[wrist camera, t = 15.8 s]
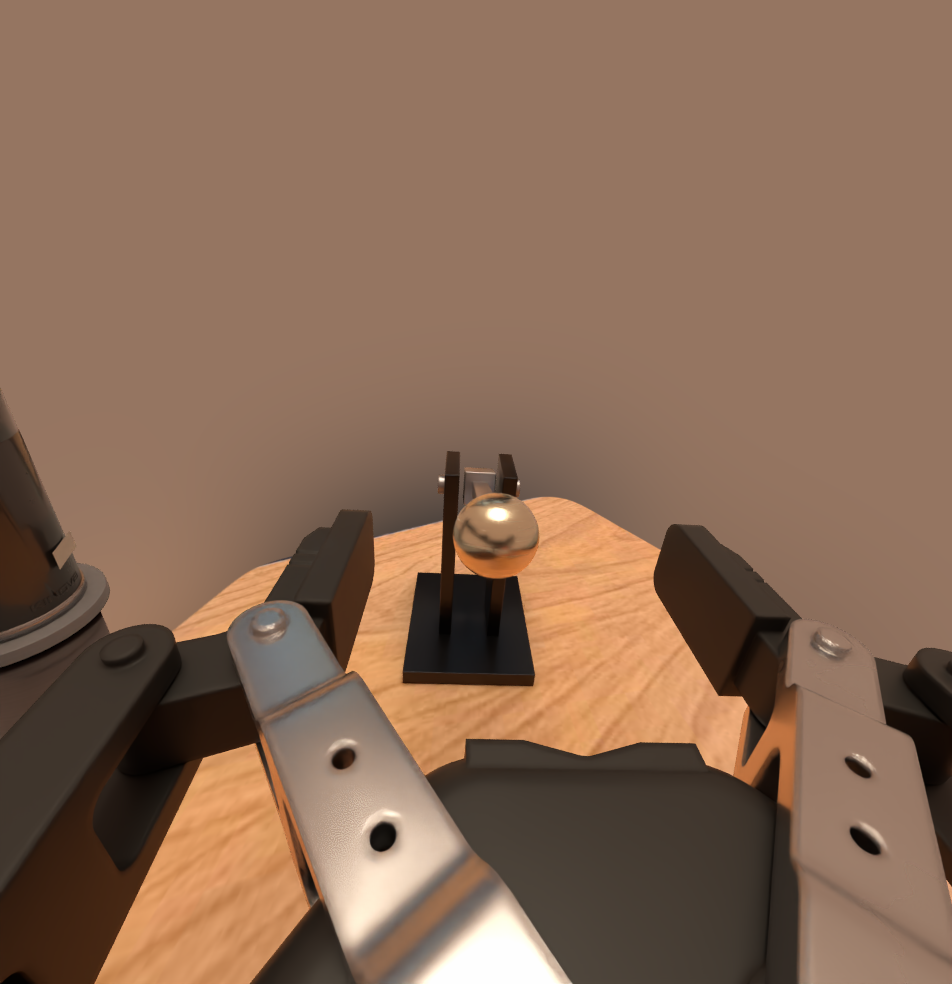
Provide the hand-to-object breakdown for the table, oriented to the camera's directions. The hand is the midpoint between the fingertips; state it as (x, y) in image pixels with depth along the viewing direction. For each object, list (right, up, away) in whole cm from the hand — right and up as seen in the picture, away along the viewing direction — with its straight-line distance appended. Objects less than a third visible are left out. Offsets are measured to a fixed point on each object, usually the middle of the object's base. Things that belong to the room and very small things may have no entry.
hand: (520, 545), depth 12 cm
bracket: (-2, -11, +26) cm, 29 cm away
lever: (-1, -1, +13) cm, 13 cm away
